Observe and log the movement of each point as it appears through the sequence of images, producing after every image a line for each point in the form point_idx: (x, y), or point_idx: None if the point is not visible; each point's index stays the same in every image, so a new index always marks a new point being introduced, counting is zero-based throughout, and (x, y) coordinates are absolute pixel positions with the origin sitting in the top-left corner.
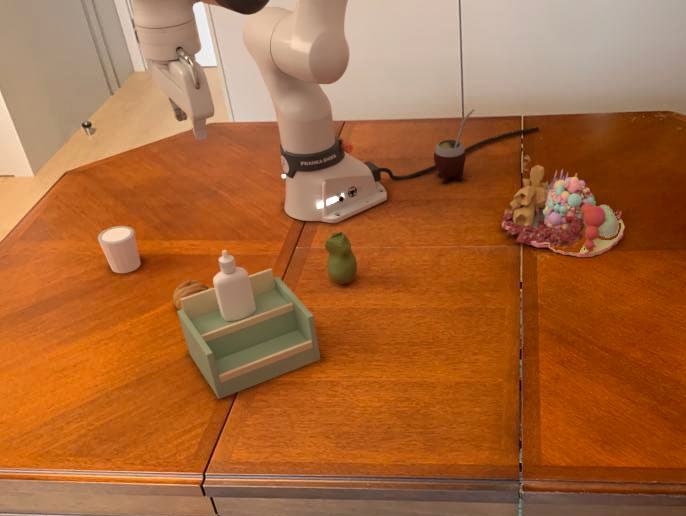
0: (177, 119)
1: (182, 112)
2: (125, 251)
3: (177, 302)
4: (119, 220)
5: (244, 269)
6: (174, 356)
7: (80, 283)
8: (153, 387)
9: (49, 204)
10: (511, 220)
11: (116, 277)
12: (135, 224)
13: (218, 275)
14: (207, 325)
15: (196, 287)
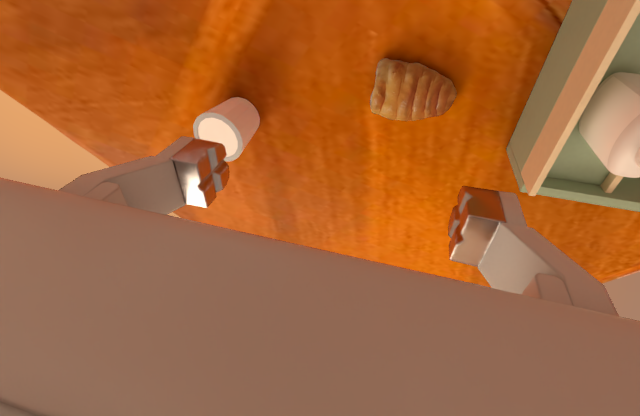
0: (225, 185)
1: (207, 174)
2: (248, 132)
3: (399, 119)
4: (116, 71)
5: None
6: (489, 164)
7: (255, 172)
8: (522, 206)
9: (57, 125)
10: None
11: (263, 137)
12: (133, 56)
13: (635, 171)
14: (573, 159)
15: (401, 88)
